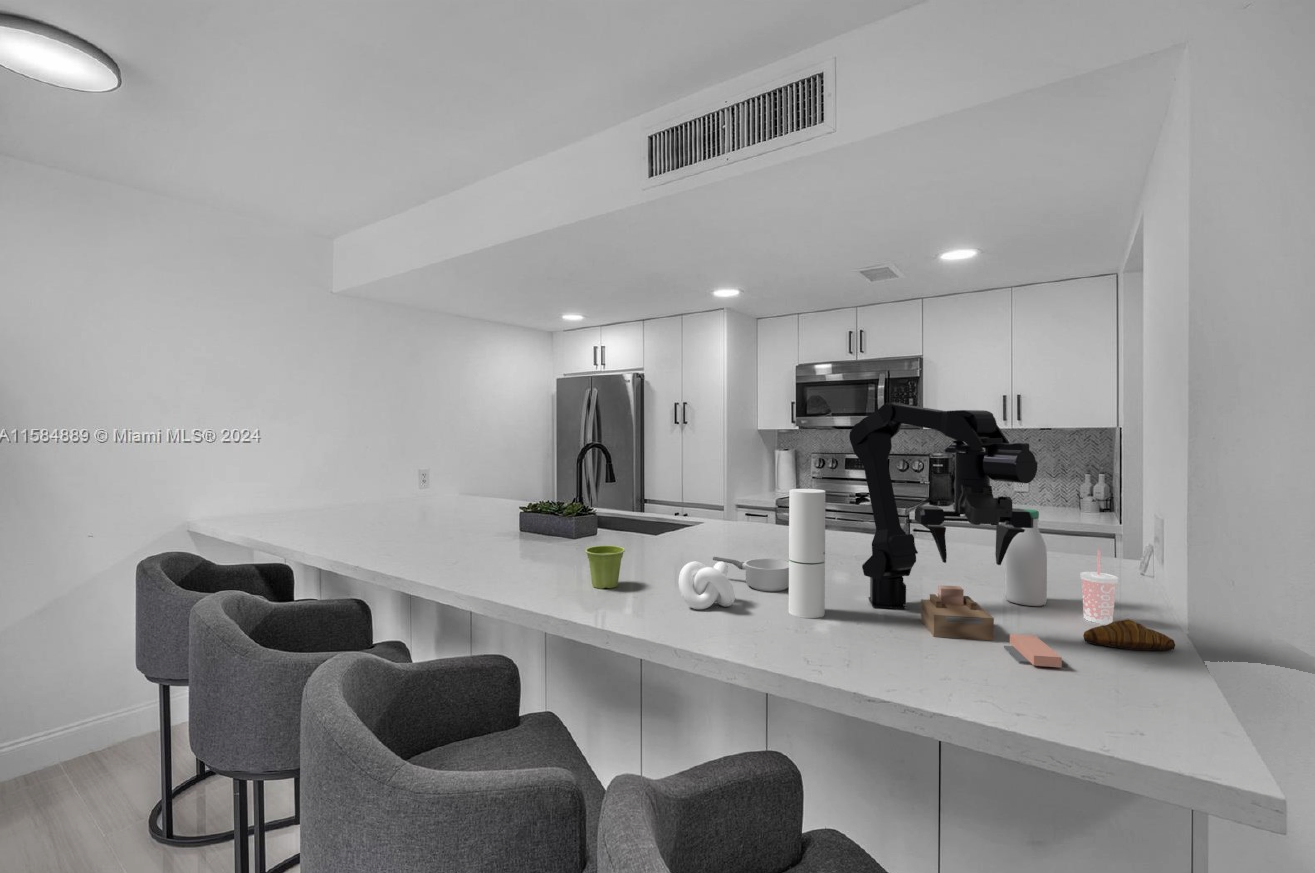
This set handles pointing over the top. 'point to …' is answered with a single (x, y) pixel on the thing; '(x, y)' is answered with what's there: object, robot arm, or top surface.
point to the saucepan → (763, 573)
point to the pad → (1020, 657)
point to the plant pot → (605, 565)
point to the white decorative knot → (705, 585)
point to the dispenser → (956, 615)
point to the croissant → (1128, 636)
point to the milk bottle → (1027, 567)
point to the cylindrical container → (807, 553)
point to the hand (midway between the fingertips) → (971, 563)
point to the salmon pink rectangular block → (1035, 650)
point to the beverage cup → (1098, 595)
